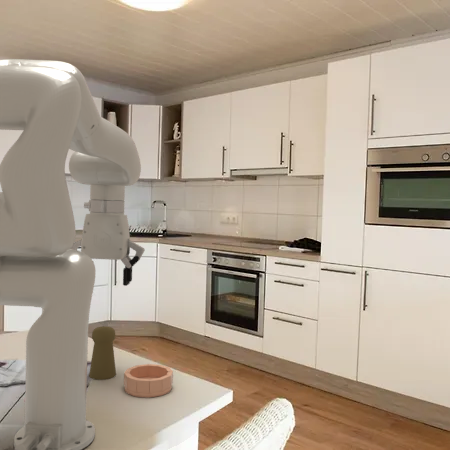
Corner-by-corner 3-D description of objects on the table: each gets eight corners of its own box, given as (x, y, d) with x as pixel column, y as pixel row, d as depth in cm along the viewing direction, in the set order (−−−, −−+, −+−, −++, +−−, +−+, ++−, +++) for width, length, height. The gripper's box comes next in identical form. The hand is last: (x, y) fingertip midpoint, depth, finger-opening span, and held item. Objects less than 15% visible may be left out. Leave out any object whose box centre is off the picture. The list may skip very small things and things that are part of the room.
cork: (83, 376, 107) (84, 328, 107) (101, 368, 113) (103, 322, 112) (103, 381, 104) (104, 332, 104) (121, 373, 110) (123, 326, 109)
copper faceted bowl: (166, 399, 96) (167, 382, 96) (118, 395, 97) (119, 379, 97) (175, 381, 106) (176, 365, 106) (131, 378, 107) (132, 363, 107)
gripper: (63, 207, 104) (61, 284, 105) (140, 210, 103) (138, 288, 104) (76, 206, 111) (74, 279, 112) (148, 209, 110) (146, 282, 111)
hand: (105, 283), depth 108 cm, fingers open, 9 cm apart
